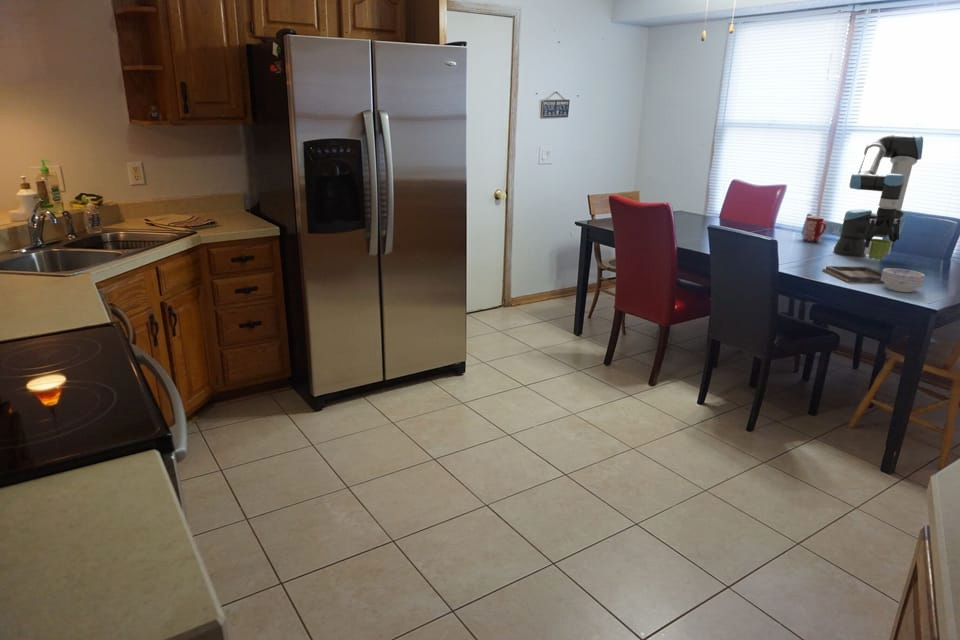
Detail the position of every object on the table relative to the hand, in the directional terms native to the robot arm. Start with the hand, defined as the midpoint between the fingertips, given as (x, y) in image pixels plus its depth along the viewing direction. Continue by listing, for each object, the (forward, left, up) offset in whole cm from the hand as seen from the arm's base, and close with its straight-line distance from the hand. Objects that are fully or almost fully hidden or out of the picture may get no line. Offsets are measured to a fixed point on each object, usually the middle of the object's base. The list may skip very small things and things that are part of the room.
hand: (876, 254), depth 305 cm
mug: (-4, -62, -7) cm, 62 cm away
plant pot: (0, 0, -2) cm, 2 cm away
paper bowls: (+13, +38, -7) cm, 41 cm away
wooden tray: (+19, +18, -7) cm, 28 cm away
